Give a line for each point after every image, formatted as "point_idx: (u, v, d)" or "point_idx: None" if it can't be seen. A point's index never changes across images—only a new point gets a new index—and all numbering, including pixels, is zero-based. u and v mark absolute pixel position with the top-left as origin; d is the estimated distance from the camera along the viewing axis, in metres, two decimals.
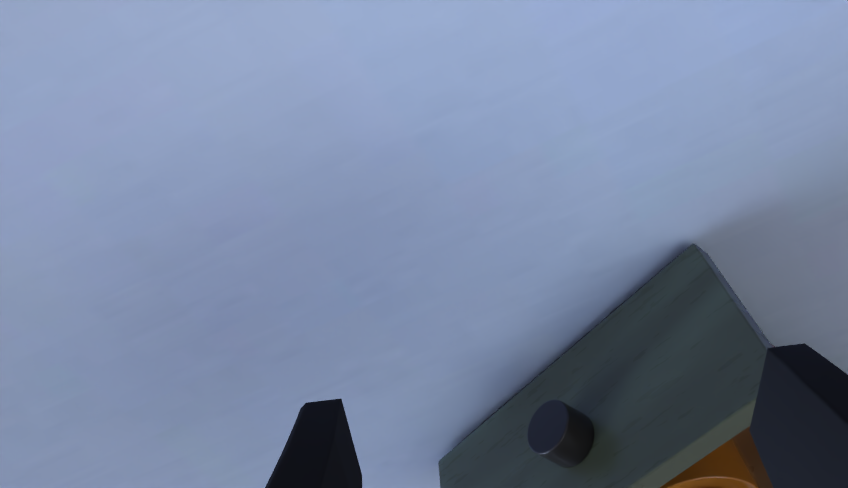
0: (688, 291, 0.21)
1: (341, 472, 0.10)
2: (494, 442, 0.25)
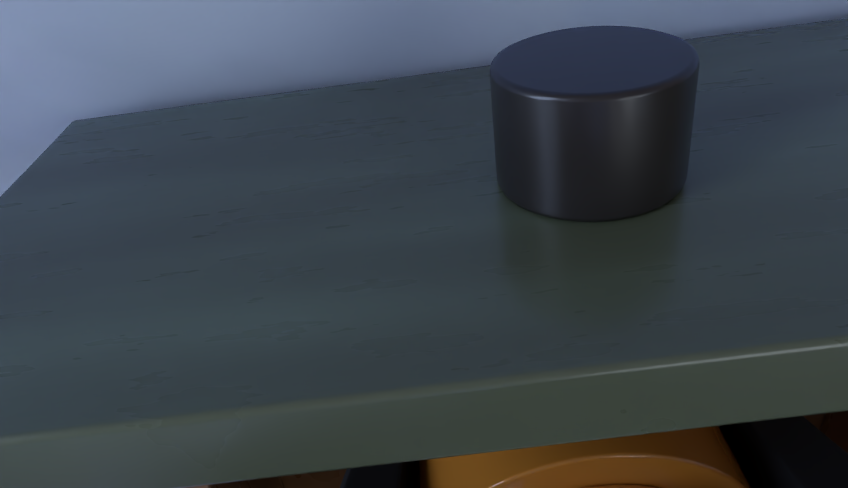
0: None
1: (412, 464, 0.10)
2: (278, 126, 0.09)
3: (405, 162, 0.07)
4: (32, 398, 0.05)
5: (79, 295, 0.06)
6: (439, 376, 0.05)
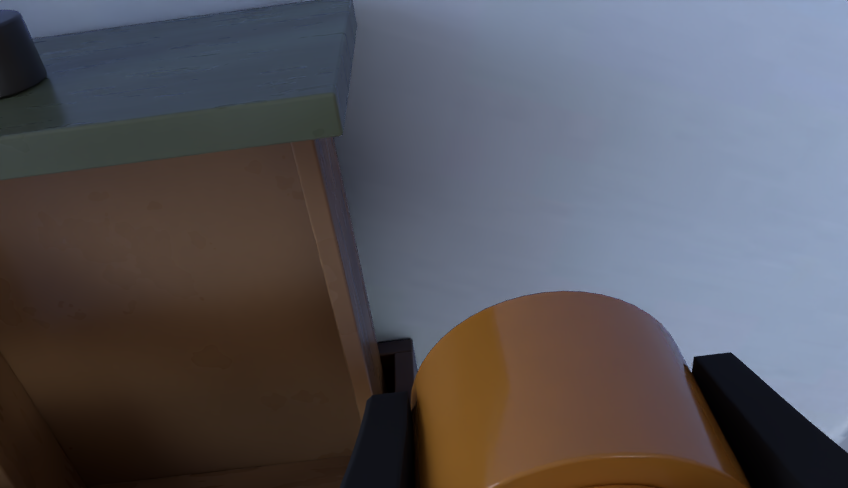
0: (303, 19, 0.14)
1: (412, 464, 0.10)
2: None
3: None
4: None
5: None
6: None
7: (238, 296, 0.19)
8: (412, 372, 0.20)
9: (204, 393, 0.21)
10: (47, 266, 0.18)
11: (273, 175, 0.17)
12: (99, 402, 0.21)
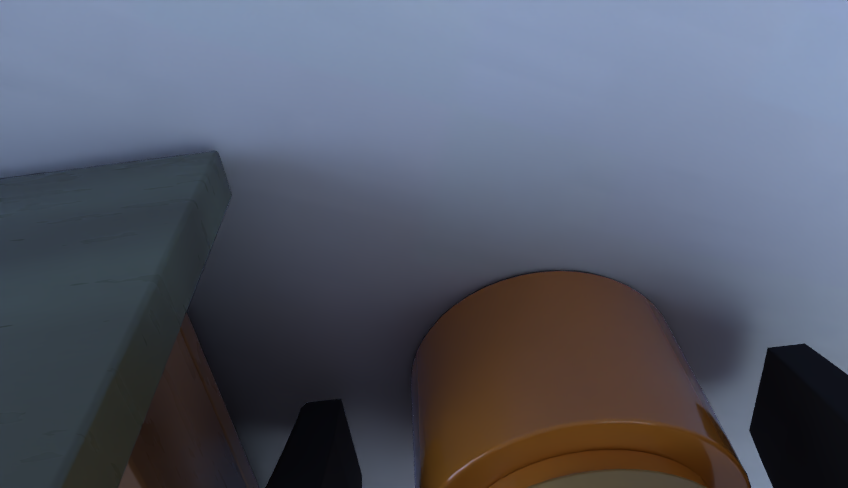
0: (110, 218, 0.08)
1: (341, 472, 0.10)
2: None
3: None
4: None
5: None
6: None
7: None
8: None
9: None
10: None
11: None
12: None
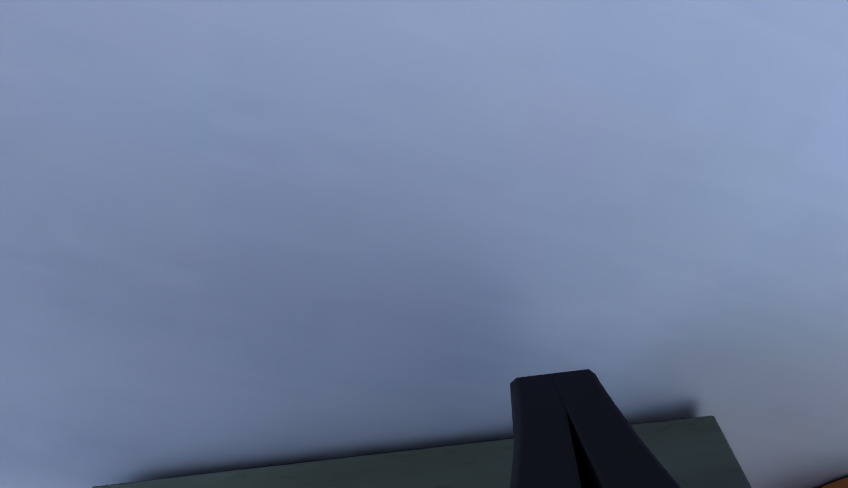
0: (696, 484, 0.13)
1: None
2: None
3: None
4: None
5: None
6: None
7: None
8: None
9: None
10: None
11: None
12: None
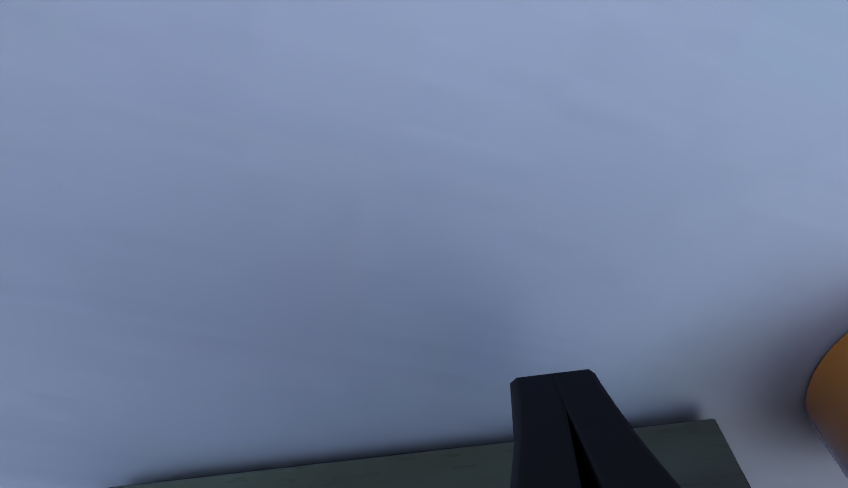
0: None
1: None
2: None
3: None
4: None
5: None
6: None
7: None
8: None
9: None
10: None
11: None
12: None
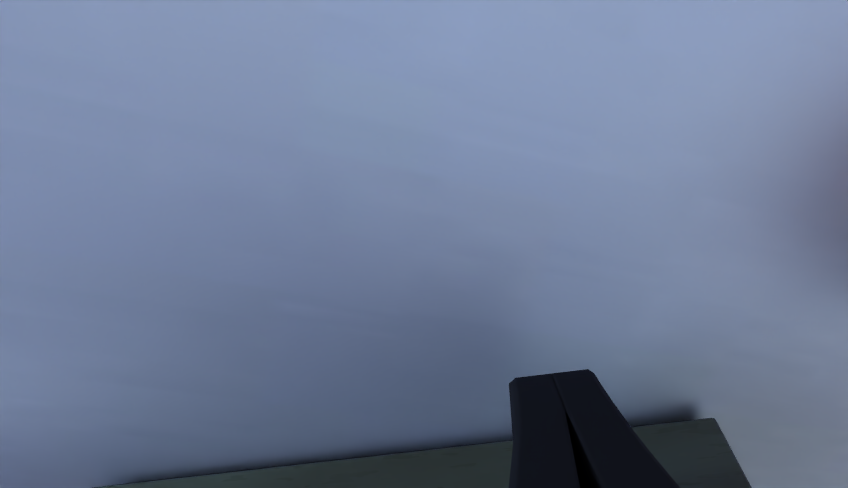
0: (697, 487, 0.13)
1: None
2: None
3: None
4: None
5: None
6: None
7: None
8: None
9: None
10: None
11: None
12: None
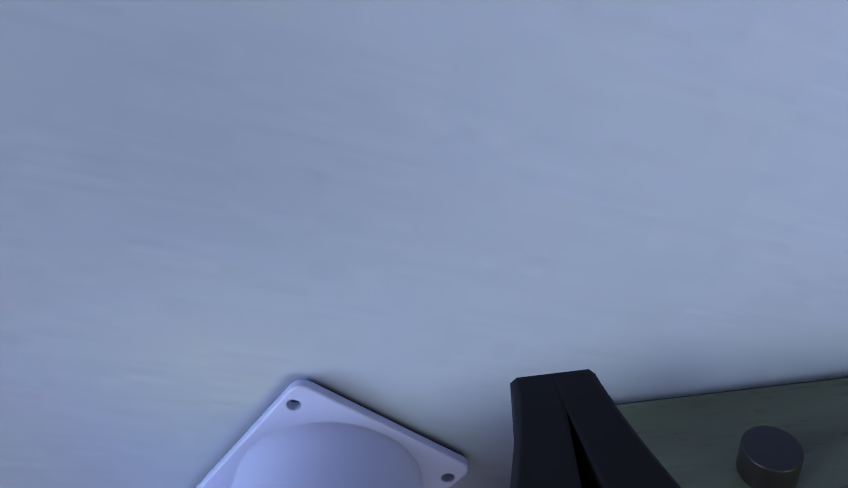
0: None
1: None
2: (639, 429, 0.24)
3: (700, 458, 0.22)
4: None
5: None
6: None
7: None
8: None
9: None
10: None
11: None
12: None
